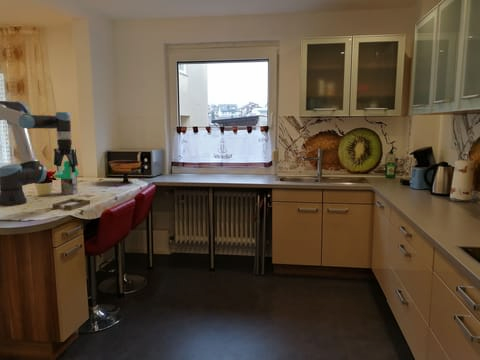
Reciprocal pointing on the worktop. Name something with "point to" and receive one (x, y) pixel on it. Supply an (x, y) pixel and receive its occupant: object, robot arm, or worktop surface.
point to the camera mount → (66, 171)
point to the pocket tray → (71, 204)
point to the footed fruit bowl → (125, 168)
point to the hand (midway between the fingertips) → (66, 177)
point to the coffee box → (69, 186)
